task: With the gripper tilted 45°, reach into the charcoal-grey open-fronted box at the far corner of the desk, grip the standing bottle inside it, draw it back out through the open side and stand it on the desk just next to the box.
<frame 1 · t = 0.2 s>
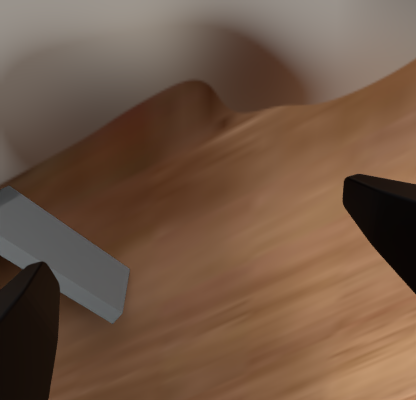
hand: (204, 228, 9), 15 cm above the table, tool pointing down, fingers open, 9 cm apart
open side box: (1, 323, 25), on the table
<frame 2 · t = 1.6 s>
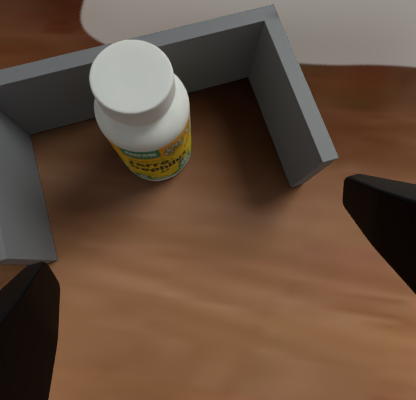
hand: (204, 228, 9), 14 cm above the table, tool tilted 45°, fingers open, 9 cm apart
supplement bottle: (157, 150, 24), on the table
open side box: (160, 161, 23), on the table
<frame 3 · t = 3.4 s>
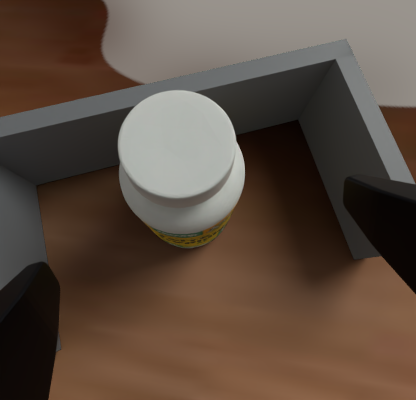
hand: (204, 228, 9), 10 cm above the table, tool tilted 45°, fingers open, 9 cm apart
supplement bottle: (188, 207, 19), on the table
open side box: (192, 221, 19), on the table
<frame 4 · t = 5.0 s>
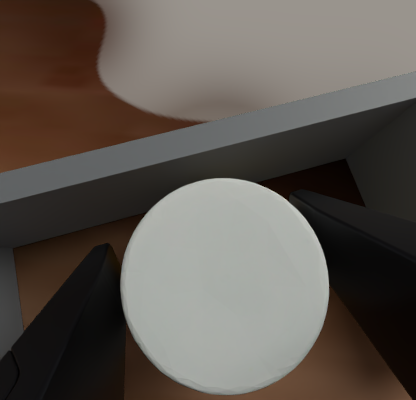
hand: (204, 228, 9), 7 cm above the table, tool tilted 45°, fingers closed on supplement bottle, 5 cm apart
supplement bottle: (209, 276, 15), on the table, touching gripper
open side box: (215, 296, 15), on the table
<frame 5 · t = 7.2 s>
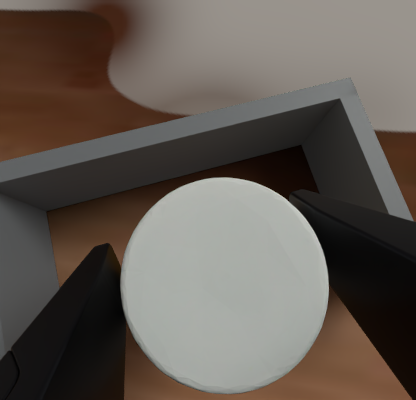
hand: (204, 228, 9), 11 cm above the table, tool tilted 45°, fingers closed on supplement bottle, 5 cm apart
supplement bottle: (209, 275, 15), point 4 cm above the table, touching gripper
open side box: (198, 247, 20), on the table
when the fingers open (8 cm above the table, at t = 9.7 s): supplement bottle drops 1 cm, on the table.
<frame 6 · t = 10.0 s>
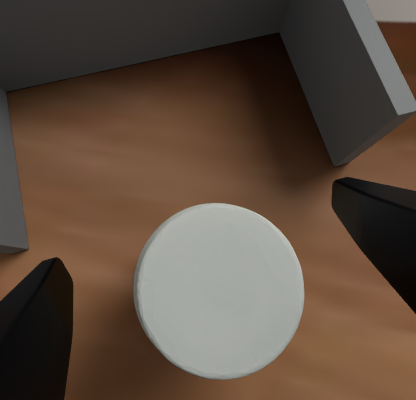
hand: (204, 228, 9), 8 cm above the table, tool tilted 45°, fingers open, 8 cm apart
supplement bottle: (208, 280, 17), on the table
open side box: (167, 128, 18), on the table
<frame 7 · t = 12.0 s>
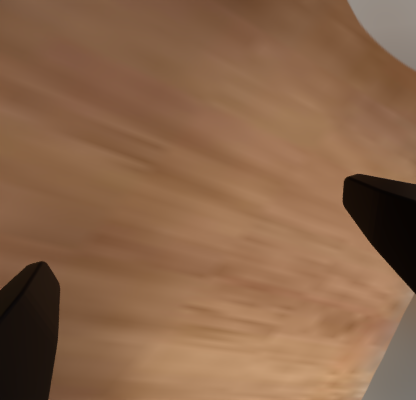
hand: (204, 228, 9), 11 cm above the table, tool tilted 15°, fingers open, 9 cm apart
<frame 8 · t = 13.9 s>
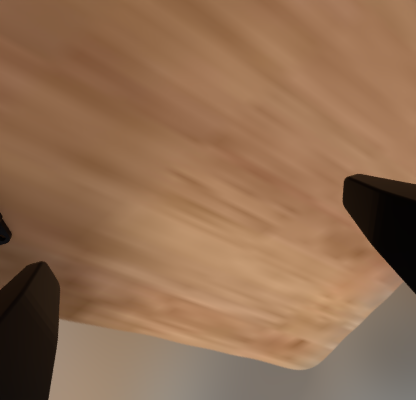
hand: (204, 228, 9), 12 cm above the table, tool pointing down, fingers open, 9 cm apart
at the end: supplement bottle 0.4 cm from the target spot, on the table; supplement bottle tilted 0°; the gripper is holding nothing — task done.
